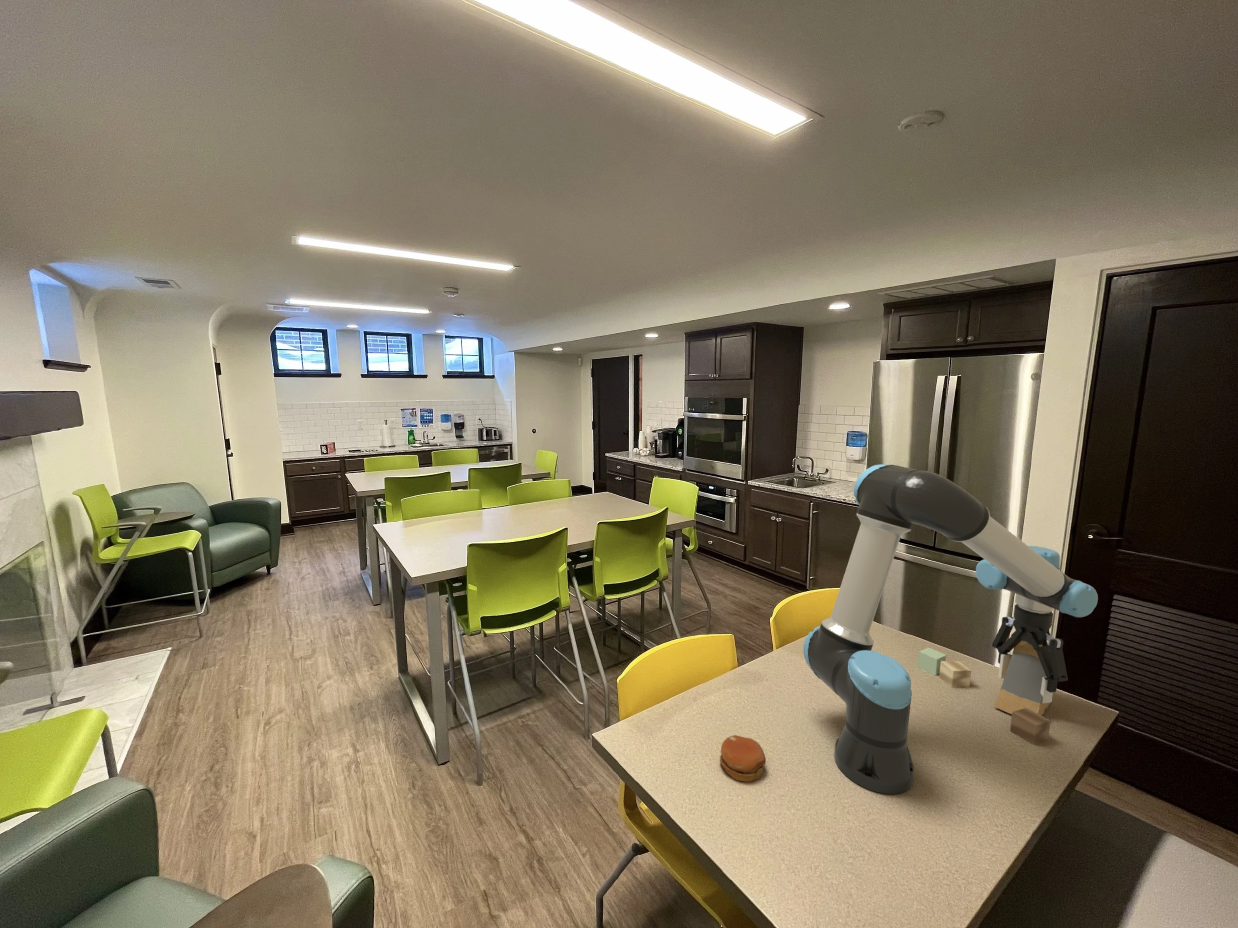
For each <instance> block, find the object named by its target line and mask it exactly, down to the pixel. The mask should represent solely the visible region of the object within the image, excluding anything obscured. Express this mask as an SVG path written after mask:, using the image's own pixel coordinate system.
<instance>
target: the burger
mask: <svg viewBox="0 0 1238 928" xmlns="http://www.w3.org/2000/svg"><path fill="white" fill-rule="evenodd" d="M766 759H767V758H766V754H765V753H764V749H763V748H762V747H761V745H760V743H759V742H758V741H756V740H755V739H753V738H751V737H750V738H749V737H744V736H740V735H730V736H728V737H726V738H725V739H724V740H723V742H722V743H721V747H720V756H719V762H720V765H721V766H722V768H723V769H724V770H725V772H726V773H727V774H728V775H729V776H730V777H732V779H734V780H736V781H740V782H741V781H742V782H752V781H756V780H758V779H759V778H761V776H762V775H763V771H764V766H765V764H766V762H767V760H766Z"/></svg>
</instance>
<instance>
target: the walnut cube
mask: <svg viewBox="0 0 1238 928" xmlns="http://www.w3.org/2000/svg"><path fill="white" fill-rule="evenodd" d="M1050 729H1051V720H1050V719H1049V718H1046V717H1045V716H1043V715H1042V716H1041V715H1039V714H1037V713H1035V712H1034V711H1032V710H1030V709H1028V708H1024V709H1021V710H1017V711H1014V712H1012V714H1011V722H1010V729H1009V730H1010V733H1013V734H1014V735H1016V736H1017V737H1019V738H1021V739H1022V740H1024V741H1026V742H1028V743H1029V744H1031V745H1033V746H1035V745H1039V744H1041V743H1043V742H1047V741H1049V735H1050Z"/></svg>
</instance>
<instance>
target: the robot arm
mask: <svg viewBox="0 0 1238 928" xmlns="http://www.w3.org/2000/svg"><path fill="white" fill-rule="evenodd" d="M853 496H854V497H855V501H856V503H857V504H858V507H857V511H856V517H857V518H858V519H859V522H860V524H859V529H858V531H857V534H856V537H855V540H854V543H853V547H852V550H851V553H850V555H849V559H848V563H847V566H846V568H845V572H844V575H843V578H842V580H841V584H840V588H839V590H838V593H837V597H836V599H835V602H834V605H833V608H832V611H831V615H830V617H828V618H825V619H823V620H822V621H821V623H820V625H818V626H816V627H815V628H813V631H809V633H808V634H807V636H806V637H805V640H804V642H803V651H802V652H803V653H802V654H803V658H804V660H805V663H806V664H807V666H808V668H809V669H811V671H812V673H813V674H814V675H815V676H816V677H817V678H818V679H819V680H821V682H823V683H824V684H825V685H827V687H828V688H829V689H830V690H831V691H833V692H834V693H835V695H837V696H838V697H839V698H840V699H841V700H842V701H843V702H844V703H845V722H844V725H843V728H842V730H841V733H840V735H839V737H838V738H837V739H836V741H835V745H834V750H833V751H834V753H833V757H834V762H835V764H836V766H837V767H838V769H839V770H840V771H841V772H842V774H843V775H844V776H846V777H847V778H848V779H850V780H851V781H852V782H853V783H855V784H856V785H859V786H861V787H863V788H865V789H867V790H870V791H873V792H876V793H879V794H884V795H885V794H886V795H899V794H902V793H906V792H907V791H910V789H911V788H912V786H913V785H914V782H915V781H914V780H915V767H914V763H913V759H912V756H911V753H910V752H911V751H910V749H909V745H908V733H909V723H910V721H909V720H910V713H911V704H912V702H911V701H912V695H913V694H912V692H913V691H912V680H911V676H910V674H909V672H908V671H907V669H906V668H905V667H904V666H903V665H902V664H901V663H900V662H899V661H898V660H896V659H894V658H893V657H891V656H889V655H886V654H885V655H883V654H882V653H881V652H878V651H874V650H872V648H873V646H874V639H873V637H872V636H871V634H870V631H871V628H872V624H873V621H874V618H875V616H876V613H877V609H878V606H879V605H880V604H879V603H880V601H881V598H882V594H883V591H884V589H885V585H886V583H887V578H888V576H889V574H890V570H891V566H892V565H893V561H894V559H895V555H896V553H897V550H898V546H899V542H900V540H901V537H902V536H903V535H905V534H907V533H908V532H909V533H910V532H911V531H912V529H913V525H917V526H921V527H923V528H924V527H925V528H926V529H930V530H931V531H932V530H933V531H934V532H937V533H939V534H942V536H944V537H946V539H949V540H950V541H951V542H952V541H953V542H958V543H962V544H963V545H965V546H966V547H968V548H969V549H970V550H972V552H974V553H976V554H977V555H978V556H980V557H981V558H982V560H980V561H979V562H978V563H977V565H976V566H975V575H976V579H977V581H978V583H979V584H980V585H982V586H983V587H984V588H986V589H988V590H996V591H1001V590H1004V591H1008V592H1012V593H1014V594H1015V597H1014V602H1015V605H1014V608H1013V609H1014V610H1013V616H1003V617H1002V618H1001V626H1000V627H999V628H998V629H999V630H998V631H997V633H996V635H995V637H994V639H993V641H992V643H991V646H992V648H994V649H996V650H997V652H998V658H997V663H998V664H999V669H998V675H997V676H998V677H997V678H999V679H1004V677H1005V674H1006V671H1007V668H1008V665H1009V662H1010V659H1011V656H1012V653H1011V652H1012V651H1013V650H1014V647H1015V646H1016V645H1017V644H1019V643H1020V642H1021V641H1025V642H1027V643H1029V644H1030V645H1032V646H1033V648H1034V650H1036V652H1037V654H1038V657H1039V659H1040V662H1041V665H1042V667H1043V670H1044V672H1045V675H1046V677H1042V685H1041V695H1042V696H1043V703H1050V704H1051V703H1052V701H1053V694H1054V693H1056V692H1057V688H1058V687H1057V686H1058V682H1067V681H1068V680H1069V679H1068V673H1067V668H1066V667H1067V666H1066V662H1065V657H1064V652H1063V648H1064V647H1063V646H1064V640H1063V639H1062V638H1056V637H1054V636H1051V633H1050V630H1051V628H1052V626H1053V619H1054V613H1053V611H1054V610H1056V611H1059V612H1060V613H1062V614H1067V615H1070V616H1072V617H1074V618H1083V617H1087V616H1089V615H1090V614H1092V612H1093V611H1094V609H1095V608H1096V607H1097V604H1098V600H1099V597H1098V596H1099V595H1098V593H1097V591H1096V589H1095V588H1094V587H1093V586H1091V585H1090V584H1087V583H1084V582H1083V581H1081V580H1078V579H1077V580H1076V579H1073V578H1071V577H1070V576H1068V575H1066V574H1065V572H1063V571H1061V567H1060V566H1061V565H1060V563H1061V562H1060V561H1061V556H1060V553H1059V552H1057V550H1054V549H1051V548H1047V547H1043V546H1036V545H1027V544H1026V543H1025V542H1024V541H1022V539H1020V538H1019V537H1017V536H1016V534H1015V535H1014V534H1013V533H1012V532H1011V531H1009V530H1008V529H1007V528H1006V527H1004V526H1003V525H1002V524H1000V523H999V522H998V521H997V520H996V519H994V518H993V517H992V516H991V515H990V514H991V513H990V510H989V509H988V507H987V506H986V505H985V504H983V503H982V502H981V501H980V500H978V499H977V498H976V497H975V496H973V495H972V494H970V493H969V492H968V491H966V490H965V489H964V488H962V487H961V486H959V485H958V484H956V483H955V482H953V481H952V480H950V479H948V478H946V477H944V476H942V475H940V474H938V473H935V472H933V471H928V470H921V469H920V470H919V469H917V468H916V469H915V468H910V467H906V466H901V465H898V464H896V465H895V464H881V463H880V464H874V465H872V466H870V467H869V468H866V469H865V470H864V471H862V473H861V474H859V476H858V477H857V479H856V481H855V483H854V485H853ZM1013 629H1015V630H1014V632H1012V631H1013ZM1011 632H1012V634H1011ZM1009 636H1010V637H1009ZM1041 644H1042V647H1039V645H1041Z"/></svg>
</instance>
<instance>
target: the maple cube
mask: <svg viewBox="0 0 1238 928" xmlns="http://www.w3.org/2000/svg"><path fill="white" fill-rule="evenodd" d="M938 675H939V679H940V680H942V681H943V682H944V683H945V684H946V685H948V686H949V687H950V688H953V689H954V687H955V689H957V688H970V686H971V678H972V677H971V676H972V670H971V669H970V668H969V667H967V666H966V665H965V664H963V663H962V662H960V661H959V660H946V661H941V664H940V674H938ZM956 687H957V688H956Z"/></svg>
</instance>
